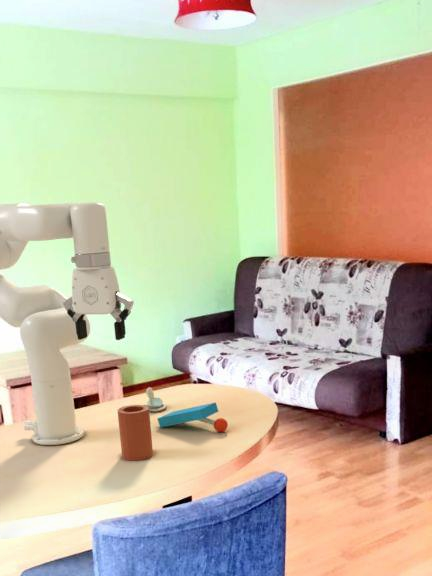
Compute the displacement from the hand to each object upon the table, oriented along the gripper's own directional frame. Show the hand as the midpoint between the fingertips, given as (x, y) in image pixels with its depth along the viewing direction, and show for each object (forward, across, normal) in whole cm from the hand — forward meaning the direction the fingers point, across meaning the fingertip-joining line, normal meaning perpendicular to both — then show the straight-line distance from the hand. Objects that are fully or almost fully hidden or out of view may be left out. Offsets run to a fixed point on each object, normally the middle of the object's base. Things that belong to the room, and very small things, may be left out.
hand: (101, 338), depth 165 cm
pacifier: (+27, -5, +33) cm, 43 cm away
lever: (+27, +13, +20) cm, 36 cm away
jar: (+26, +8, -2) cm, 28 cm away
